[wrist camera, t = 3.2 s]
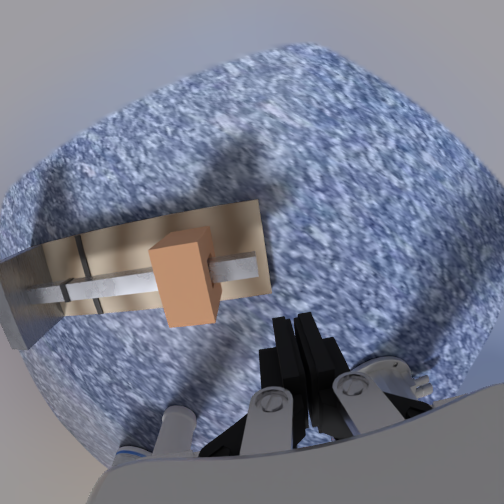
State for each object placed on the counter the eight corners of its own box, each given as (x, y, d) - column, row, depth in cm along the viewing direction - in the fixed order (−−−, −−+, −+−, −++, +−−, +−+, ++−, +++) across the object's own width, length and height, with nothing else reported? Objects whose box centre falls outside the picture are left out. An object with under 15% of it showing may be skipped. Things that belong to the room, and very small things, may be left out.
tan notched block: (209, 225, 27) (197, 241, 21) (222, 290, 29) (215, 322, 23) (170, 232, 27) (147, 250, 21) (185, 295, 29) (169, 327, 23)
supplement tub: (109, 447, 41) (88, 501, 26) (138, 440, 39) (116, 503, 25) (144, 472, 43) (130, 524, 29) (175, 466, 41) (162, 526, 27)
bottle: (159, 404, 36) (115, 548, 12) (191, 403, 36) (160, 559, 12) (170, 425, 38) (138, 559, 14) (201, 425, 38) (180, 568, 13)
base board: (257, 199, 29) (258, 200, 28) (271, 289, 31) (272, 294, 30) (30, 246, 30) (25, 249, 29) (51, 313, 32) (47, 317, 31)
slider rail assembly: (247, 200, 29) (247, 213, 19) (262, 291, 31) (267, 340, 22) (30, 246, 30) (-19, 269, 20) (51, 313, 32) (12, 348, 23)
